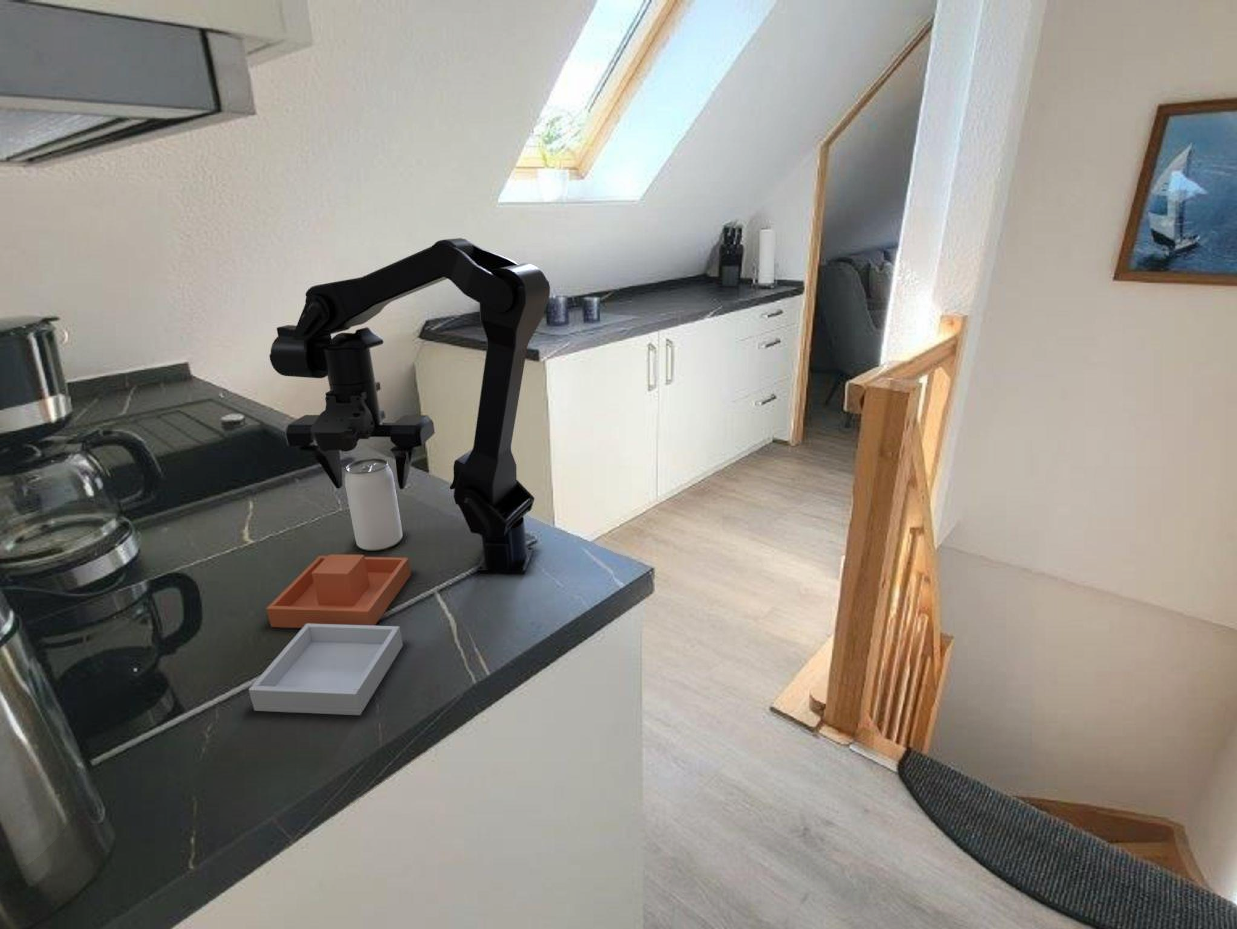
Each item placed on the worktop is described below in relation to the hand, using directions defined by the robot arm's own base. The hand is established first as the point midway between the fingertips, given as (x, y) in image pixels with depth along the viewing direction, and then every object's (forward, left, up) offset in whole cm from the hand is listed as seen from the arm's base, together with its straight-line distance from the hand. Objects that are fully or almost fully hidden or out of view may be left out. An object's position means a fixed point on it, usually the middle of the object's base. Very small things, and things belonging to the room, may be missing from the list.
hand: (370, 487), depth 92 cm
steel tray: (+29, +7, -9) cm, 31 cm away
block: (+15, +2, -8) cm, 17 cm away
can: (0, 0, -9) cm, 9 cm away
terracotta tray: (+15, +2, -9) cm, 17 cm away
